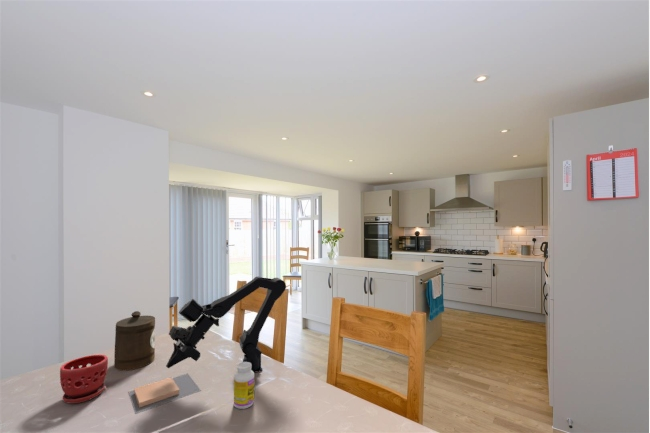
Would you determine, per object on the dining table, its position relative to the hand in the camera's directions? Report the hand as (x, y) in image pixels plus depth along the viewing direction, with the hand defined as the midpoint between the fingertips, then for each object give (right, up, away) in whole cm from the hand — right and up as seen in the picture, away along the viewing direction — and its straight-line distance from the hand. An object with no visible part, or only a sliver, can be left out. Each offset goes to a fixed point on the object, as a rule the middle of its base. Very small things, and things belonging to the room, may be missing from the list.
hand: (167, 367), depth 107 cm
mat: (-1, -9, -1) cm, 9 cm away
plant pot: (-28, -9, -2) cm, 29 cm away
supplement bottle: (+30, -9, -7) cm, 32 cm away
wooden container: (-26, -10, +23) cm, 36 cm away
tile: (+2, -7, +2) cm, 8 cm away
